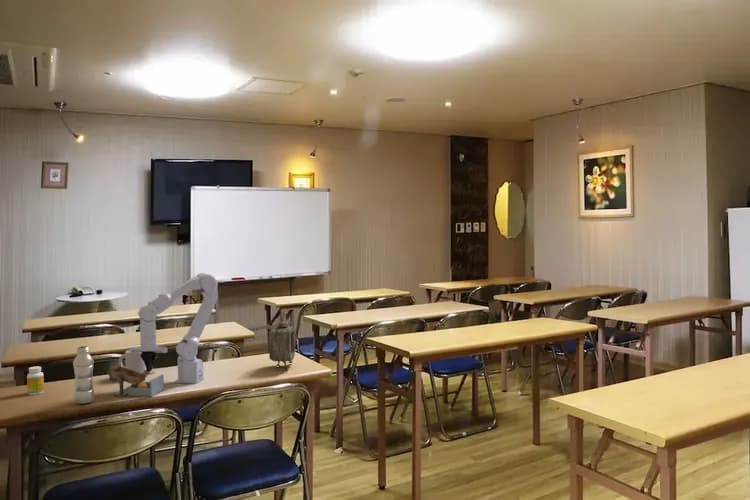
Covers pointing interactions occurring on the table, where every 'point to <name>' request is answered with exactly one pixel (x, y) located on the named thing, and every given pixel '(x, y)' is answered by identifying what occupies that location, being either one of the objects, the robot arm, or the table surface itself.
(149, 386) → the grey open box
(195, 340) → the robot arm
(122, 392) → the stand
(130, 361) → the mug
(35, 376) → the supplement bottle
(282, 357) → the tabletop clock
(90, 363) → the plastic bottle
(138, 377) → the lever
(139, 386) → the ball
